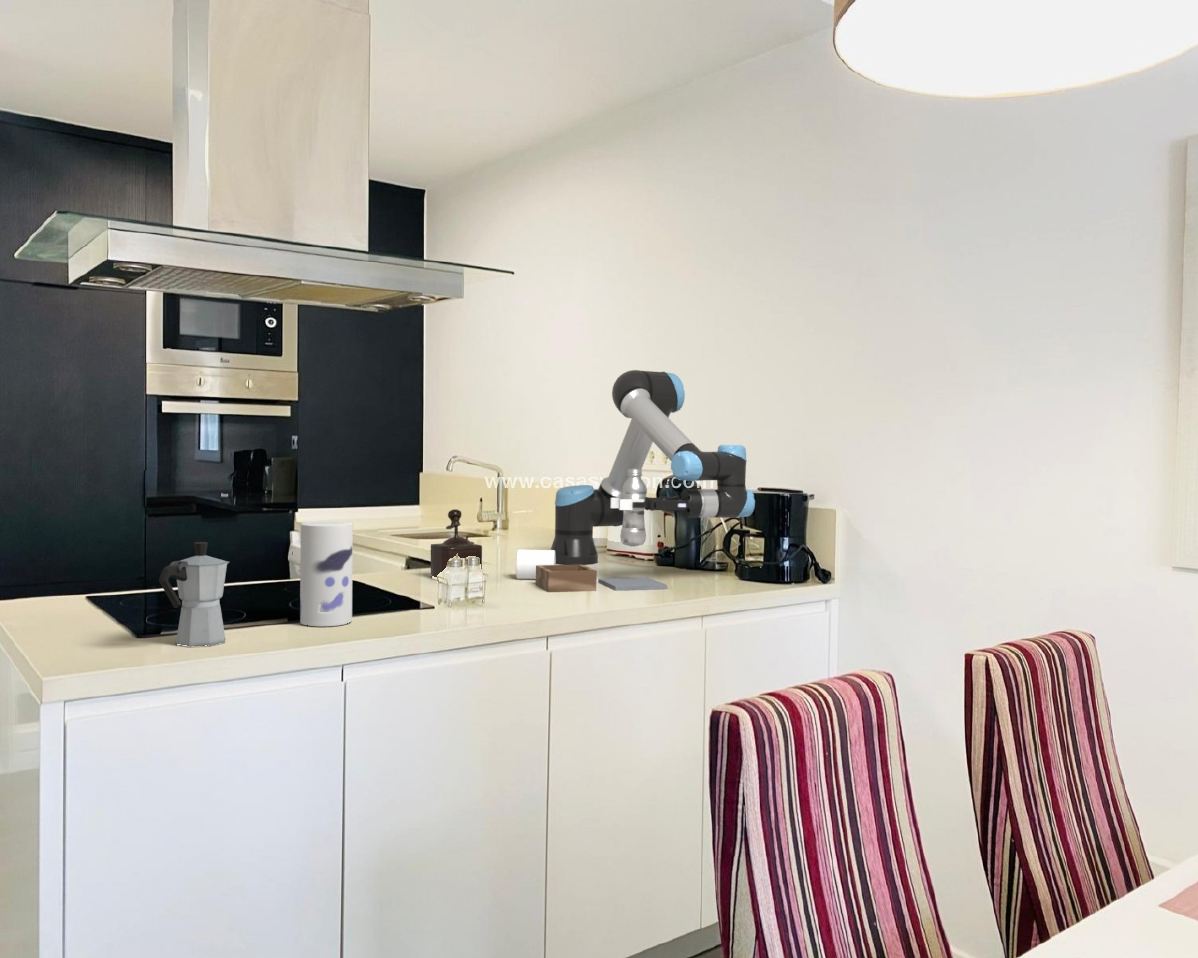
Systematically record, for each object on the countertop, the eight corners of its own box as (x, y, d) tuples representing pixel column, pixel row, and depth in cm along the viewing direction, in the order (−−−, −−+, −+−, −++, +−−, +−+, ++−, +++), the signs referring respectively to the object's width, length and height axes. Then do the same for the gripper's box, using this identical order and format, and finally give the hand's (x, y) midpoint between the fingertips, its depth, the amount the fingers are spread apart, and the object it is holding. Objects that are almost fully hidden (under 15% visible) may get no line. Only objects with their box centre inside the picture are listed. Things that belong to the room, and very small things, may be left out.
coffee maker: (211, 633, 181) (211, 537, 180) (246, 638, 177) (246, 540, 177) (142, 648, 168) (142, 544, 167) (178, 654, 164) (178, 548, 163)
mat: (598, 582, 256) (598, 578, 256) (647, 580, 260) (647, 577, 260) (615, 590, 243) (615, 586, 243) (667, 588, 247) (667, 584, 247)
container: (324, 629, 187) (325, 526, 186) (289, 623, 192) (289, 522, 192) (362, 621, 196) (363, 522, 195) (327, 616, 201) (328, 519, 200)
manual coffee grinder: (485, 580, 256) (486, 512, 255) (447, 583, 249) (448, 513, 249) (457, 573, 268) (458, 508, 268) (420, 576, 262) (421, 509, 261)
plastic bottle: (616, 545, 253) (617, 468, 252) (639, 544, 255) (640, 468, 255) (626, 547, 247) (627, 469, 246) (650, 547, 249) (651, 469, 249)
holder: (535, 584, 250) (536, 565, 250) (581, 583, 254) (582, 564, 253) (548, 592, 238) (548, 571, 238) (596, 590, 242) (596, 570, 242)
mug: (553, 581, 256) (553, 551, 256) (515, 581, 256) (516, 551, 256) (556, 575, 268) (556, 546, 268) (520, 574, 268) (520, 546, 268)
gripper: (712, 520, 247) (627, 521, 240) (683, 514, 265) (603, 515, 258) (713, 491, 247) (627, 491, 240) (683, 487, 265) (603, 487, 258)
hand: (615, 503), depth 249 cm, fingers closed on plastic bottle, 6 cm apart
